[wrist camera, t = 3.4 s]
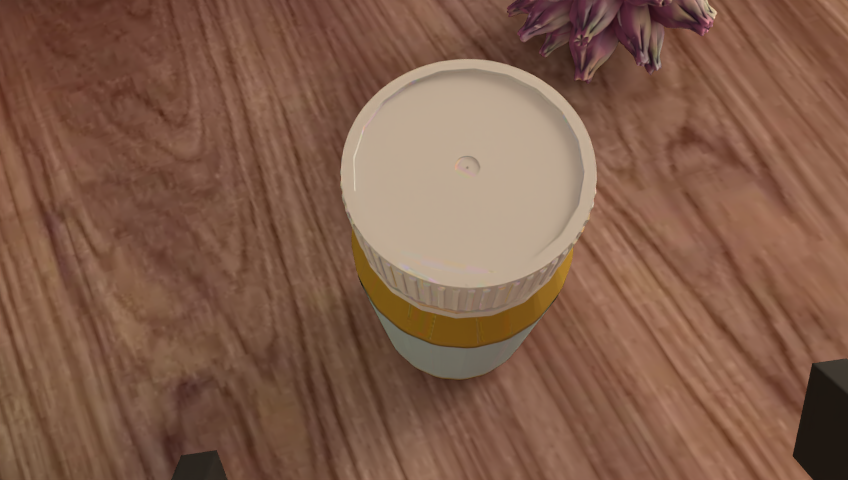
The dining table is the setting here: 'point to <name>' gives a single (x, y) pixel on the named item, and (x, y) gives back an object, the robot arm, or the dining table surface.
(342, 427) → the dining table surface
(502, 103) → the bottle
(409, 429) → the dining table surface
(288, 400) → the dining table surface
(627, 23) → the flower
